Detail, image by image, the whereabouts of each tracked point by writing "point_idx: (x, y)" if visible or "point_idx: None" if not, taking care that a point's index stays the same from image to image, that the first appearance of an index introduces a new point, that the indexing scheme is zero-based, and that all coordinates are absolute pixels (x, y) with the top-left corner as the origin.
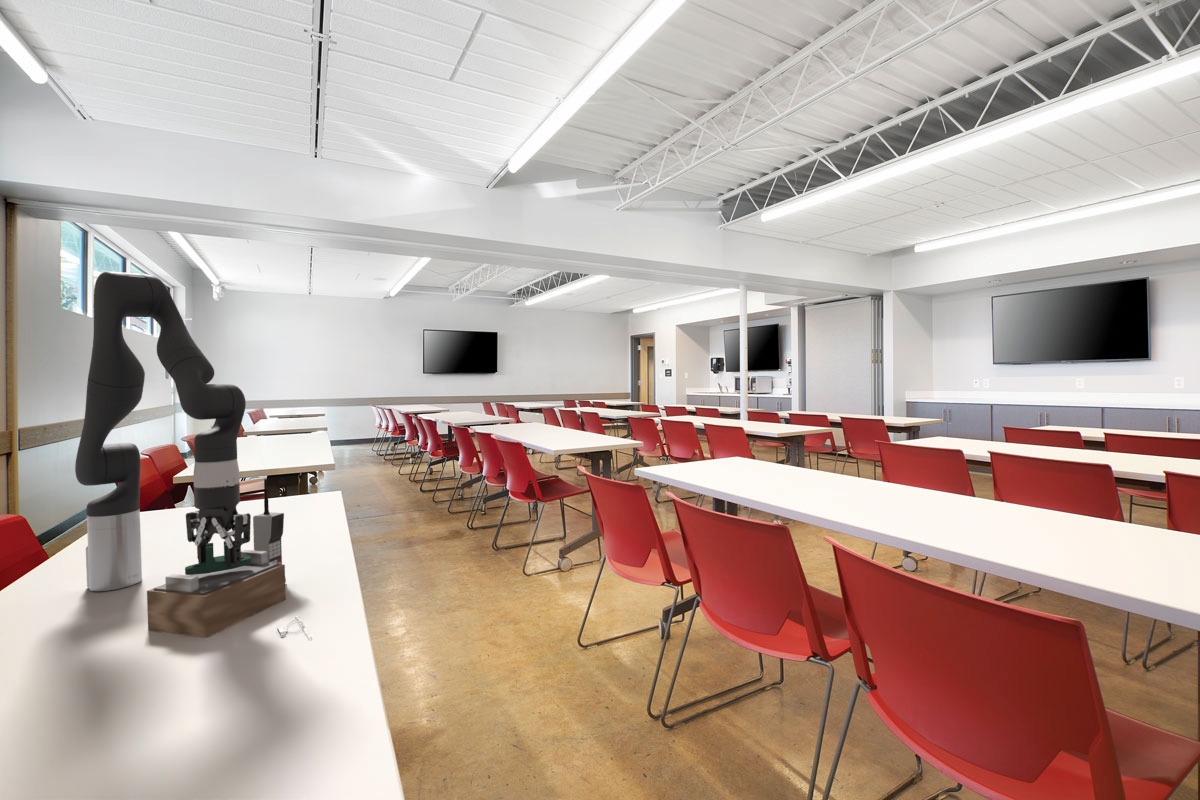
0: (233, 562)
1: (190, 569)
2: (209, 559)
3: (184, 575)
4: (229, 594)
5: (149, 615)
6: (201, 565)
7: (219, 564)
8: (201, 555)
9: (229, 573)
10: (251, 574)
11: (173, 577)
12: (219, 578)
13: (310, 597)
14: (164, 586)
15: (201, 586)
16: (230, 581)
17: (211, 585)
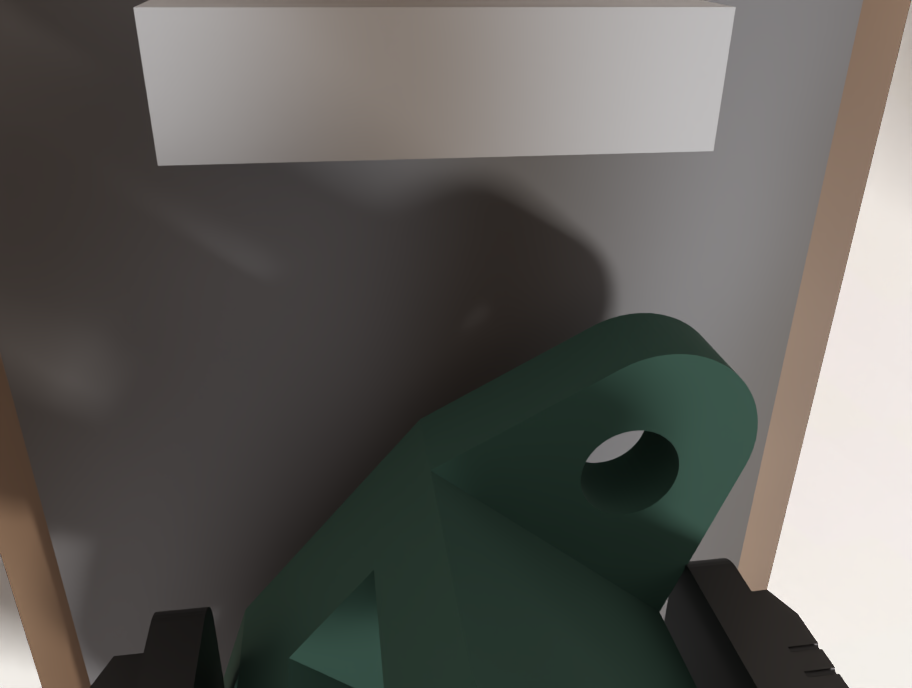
0: (122, 668)
1: (618, 365)
2: (411, 578)
3: (459, 143)
4: None
5: None
6: (580, 501)
7: (327, 585)
8: (727, 649)
9: None
10: (78, 633)
11: (552, 6)
12: (313, 453)
13: (16, 679)
14: (764, 76)
15: (251, 198)
16: (58, 423)
17: (154, 261)
